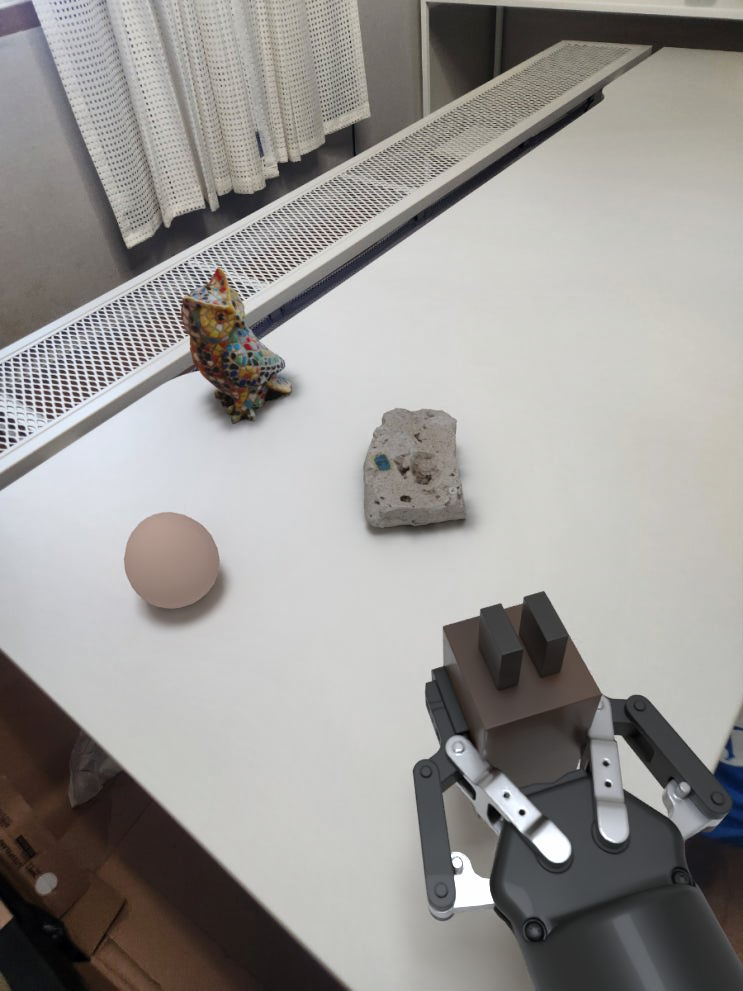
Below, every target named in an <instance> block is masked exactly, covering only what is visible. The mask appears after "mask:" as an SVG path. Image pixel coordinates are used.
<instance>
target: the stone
mask: <svg viewBox="0 0 743 991" xmlns="http://www.w3.org/2000/svg"><path fill="white" fill-rule="evenodd" d="M457 423H458V420H457V418H455V417H453V416H452V415H451V414H449V413H448V412H446V411H445V410H443V409H432V408H421V409H418V410H413V411H411V410H409V409H407V408H401V407H395V408H393V409H391V410H388V411H386V412H384V413H383V415H382V416H381V424H380V425H379V426H377V427H376V428H375V429H374V431H372V438H371V441H370V444H369V446H368V449H367V452H366V455H365V458H364V462H363V466H362V467H363V468H362V469H363V470H362V471H363V483H364V488H363V494H364V495H363V510H364V518H365V520H366V522H367V523H368V524H370V525H371V526H372V527H375V528H381V529H382V528H392V527H397V526H405V525H411V526H413V527H416V526H425V525H428V524H434V523H442V522H443V523H444V522H447V521H457V520H465V519H467V511H466V505H465V499H464V498H465V497H464V492H463V486H462V482H461V480H460V479H461V478H460V473H459V466H458V465H457V456H456V454H455V453H456V449H457V437H456V434H457Z"/></svg>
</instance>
